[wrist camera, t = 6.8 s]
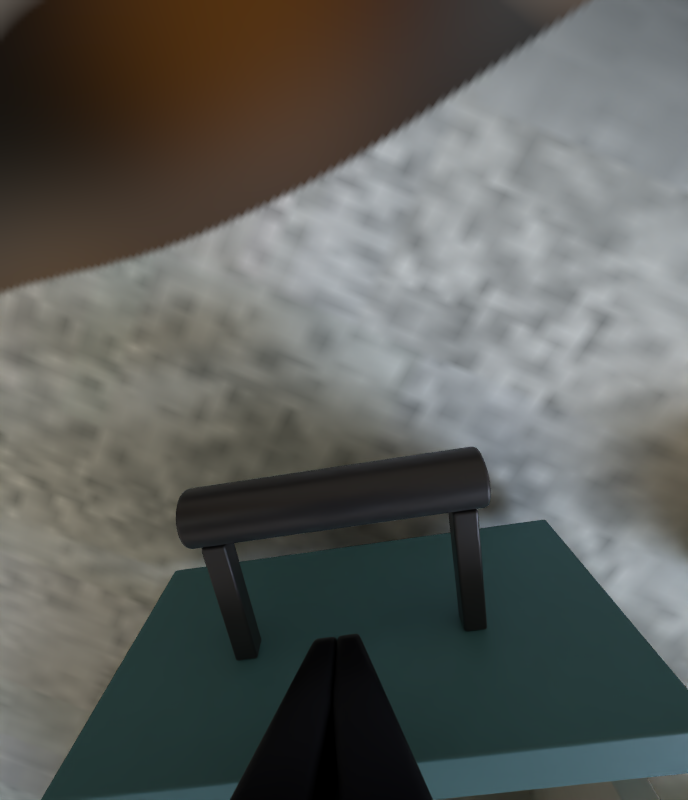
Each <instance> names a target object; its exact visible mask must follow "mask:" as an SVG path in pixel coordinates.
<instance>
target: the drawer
mask: <svg viewBox="0 0 688 800" xmlns="http://www.w3.org/2000/svg"><path fill="white" fill-rule="evenodd" d="M490 498H491V488H490V480H489V475H488V471H487V468H486V464H485V462H484V459H483V457H482V455H481V453H480V452H479V450H478V449H477V448H475V447H465V448H459V449H452V450H445V451H439V452H432V453H425V454H418V455H412V456H405V457H398V458H392V459H385V460H378V461H371V462H365V463H358V464H351V465H345V466H338V467H331V468H325V469H318V470H311V471H304V472H298V473H291V474H284V475H278V476H271V477H264V478H258V479H251V480H244V481H237V482H231V483H224V484H217V485H211V486H204V487H197V488H190V489H187V490H186V491H184V492H183V493H182V495H181V496H180V498H179V501H178V504H177V509H176V526H177V532H178V535H179V538H180V540H181V542H182V544H183V545H184V546H185V547H187V548H190V549H195V548H202V547H203V548H202V554H203V557H204V560H205V563H206V567H199V568H192V569H184V570H177V571H175V573H174V574H173V576H172V578H171V580H170V581H169V583H168V585H167V586H166V588H165V590H164V591H163V593H162V595H161V597H160V598H159V600H158V602H157V603H156V605H155V607H154V608H153V610H152V612H151V614H150V615H149V617H148V619H147V620H146V622H145V624H144V625H143V627H142V629H141V631H140V632H139V634H138V636H137V637H136V639H135V641H134V642H133V644H132V646H131V648H130V649H129V651H128V653H127V654H126V656H125V658H124V660H123V661H122V663H121V665H120V666H119V668H118V670H117V671H116V673H115V675H114V677H113V678H112V680H111V682H110V683H109V685H108V687H107V688H106V690H105V692H104V694H103V695H102V697H101V699H100V700H99V702H98V704H97V705H96V707H95V709H94V711H93V712H92V714H91V716H90V717H89V719H88V721H87V722H86V724H85V726H84V728H83V729H82V731H81V733H80V734H79V736H78V738H77V739H76V741H75V743H74V745H73V746H72V748H71V750H70V751H69V753H68V755H67V756H66V758H65V760H64V762H63V763H62V765H61V767H60V768H59V770H58V772H57V773H56V775H55V777H54V779H53V780H52V782H51V784H50V785H49V787H48V789H47V790H46V792H45V794H44V796H43V797H42V799H41V800H230V798H231V796H232V795H233V793H234V791H235V789H236V787H237V785H238V783H239V781H240V779H241V777H242V776H243V774H244V772H245V770H246V768H247V766H248V764H249V762H250V760H251V759H252V757H253V755H254V753H255V751H256V749H257V747H258V745H259V743H260V741H261V740H262V738H263V736H264V734H265V732H266V730H267V728H268V726H269V724H270V723H271V721H272V719H273V717H274V715H275V713H276V711H277V709H278V707H279V705H280V704H281V702H282V700H283V698H284V696H285V694H286V692H287V690H288V688H289V687H290V685H291V683H292V681H293V679H294V677H295V675H296V673H297V671H298V669H299V668H300V666H301V664H302V662H303V660H304V658H305V656H306V654H307V652H308V651H309V649H310V647H311V645H312V643H313V642H314V640H316V639H318V638H326V637H335V638H336V639H338V637H339V636H341V635H349V634H358V635H359V636H360V637H361V639H362V642H363V644H364V646H365V648H366V651H367V653H368V655H369V657H370V659H371V662H372V664H373V666H374V668H375V671H376V673H377V675H378V677H379V680H380V682H381V684H382V686H383V689H384V691H385V693H386V695H387V698H388V700H389V702H390V704H391V706H392V709H393V711H394V713H395V715H396V718H397V720H398V722H399V724H400V727H401V729H402V731H403V733H404V736H405V738H406V740H407V742H408V745H409V747H410V749H411V751H412V753H413V756H414V758H415V760H416V762H417V765H418V767H419V769H420V771H421V774H422V776H423V778H424V780H425V783H426V785H427V787H428V789H429V791H430V794H431V796H432V798H433V800H660V798H659V797H658V795H657V793H656V792H655V790H654V788H653V787H652V785H651V783H650V782H649V780H648V778H647V777H657V776H666V775H676V774H685V773H688V689H687V688H686V687H685V686H684V685H683V683H682V682H681V681H680V680H679V679H678V677H677V676H676V675H675V674H674V673H673V671H672V670H671V669H670V668H669V667H668V665H667V664H666V663H665V662H664V661H663V660H662V658H661V657H660V656H659V655H658V654H657V652H656V651H655V650H654V649H653V648H652V646H651V645H650V644H649V643H648V642H647V640H646V639H645V638H644V637H643V636H642V635H641V633H640V632H639V631H638V630H637V629H636V627H635V626H634V625H633V624H632V623H631V621H630V620H629V619H628V618H627V617H626V615H625V614H624V613H623V612H622V611H621V609H620V608H619V607H618V606H617V605H616V604H615V602H614V601H613V600H612V599H611V598H610V596H609V595H608V594H607V593H606V592H605V590H604V589H603V588H602V587H601V586H600V584H599V583H598V582H597V581H596V580H595V578H594V577H593V576H592V575H591V574H590V573H589V571H588V570H587V569H586V568H585V567H584V565H583V564H582V563H581V562H580V561H579V559H578V558H577V557H576V556H575V555H574V553H573V552H572V551H571V550H570V549H569V547H568V546H567V545H566V544H565V543H564V542H563V540H562V539H561V538H560V537H559V536H558V534H557V533H556V532H555V531H554V530H553V528H552V527H551V526H550V525H549V524H548V522H547V521H546V520H538V521H531V522H523V523H516V524H509V525H502V526H494V527H487V528H480V529H479V516H478V511H477V509H479V508H485V507H487V506H488V505H489V503H490ZM443 513H448V515H449V525H450V533H444V534H437V535H430V536H422V537H415V538H408V539H401V540H394V541H386V542H379V543H372V544H365V545H357V546H350V547H343V548H336V549H329V550H321V551H314V552H307V553H300V554H293V555H285V556H278V557H271V558H264V559H257V560H249V561H242V562H239V559H238V556H237V552H236V549H235V545H234V543H238V542H245V541H252V540H259V539H266V538H273V537H280V536H287V535H294V534H302V533H309V532H316V531H323V530H330V529H337V528H344V527H351V526H358V525H365V524H372V523H379V522H386V521H394V520H401V519H408V518H415V517H422V516H429V515H436V514H443Z"/></svg>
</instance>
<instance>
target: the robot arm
mask: <svg viewBox="0 0 688 800" xmlns="http://www.w3.org/2000/svg"><path fill="white" fill-rule="evenodd" d="M230 800H433V798H432V796H431V794H430V791H429V789H428V787H427V785H426V783H425V780H424V778H423V776H422V774H421V771H420V769H419V767H418V765H417V762H416V760H415V758H414V756H413V753H412V751H411V749H410V747H409V745H408V742H407V740H406V738H405V736H404V733H403V731H402V729H401V727H400V724H399V722H398V720H397V718H396V715H395V713H394V711H393V709H392V706H391V704H390V702H389V700H388V698H387V695H386V693H385V691H384V689H383V686H382V684H381V682H380V680H379V677H378V675H377V673H376V671H375V668H374V666H373V664H372V662H371V659H370V657H369V655H368V653H367V651H366V648H365V646H364V644H363V642H362V639H361V637H360V636H359V635H358V634H349V635H341V636H339V637H338V639H336V638H335V637H326V638H318V639H316V640H314V642H313V643H312V645H311V647H310V649H309V651H308V652H307V654H306V656H305V658H304V660H303V662H302V664H301V666H300V668H299V669H298V671H297V673H296V675H295V677H294V679H293V681H292V683H291V685H290V687H289V688H288V690H287V692H286V694H285V696H284V698H283V700H282V702H281V704H280V705H279V707H278V709H277V711H276V713H275V715H274V717H273V719H272V721H271V723H270V724H269V726H268V728H267V730H266V732H265V734H264V736H263V738H262V740H261V741H260V743H259V745H258V747H257V749H256V751H255V753H254V755H253V757H252V759H251V760H250V762H249V764H248V766H247V768H246V770H245V772H244V774H243V776H242V777H241V779H240V781H239V783H238V785H237V787H236V789H235V791H234V793H233V795H232V796H231V798H230Z"/></svg>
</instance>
